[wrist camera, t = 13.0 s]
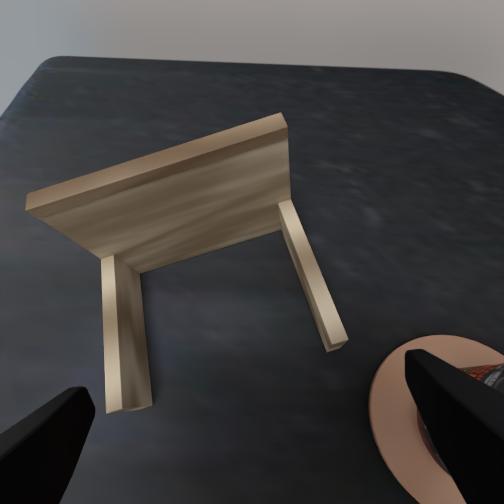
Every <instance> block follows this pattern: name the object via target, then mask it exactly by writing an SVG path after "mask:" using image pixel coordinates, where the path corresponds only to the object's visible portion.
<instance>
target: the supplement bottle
mask: <svg viewBox="0 0 504 504" xmlns="http://www.w3.org/2000/svg"><path fill="white" fill-rule="evenodd" d="M458 369H460V370H462V371H464V372H465V373H467V374H469V375H471V376H473V377H474V378H476V379H478V380H480V381H482V382H483V383H485V384H487V385H489V386H491V387H492V388H494V389H496V390H498V391H500V392H501V393H503V394H504V363H502V364H495V365H483V366H475V367H466V368H465V367H464V368H458ZM417 423H418V427H419V432H420V435H421V437H422V440H423V442H424V444H425V446H426V448H427V450H428V452H429V453H430V455H431V456H432V457H433V459H434V460H435V462H436V463H437V464H438V465H439V466H440V467H441V468H442V469H443V470H444V471H445V472H446V473H447V474H448V475H450V474H449V472H448V470H447V468H446V466H445V465H444V463H443V461H442V459H441V458H440V456H439V454H438V452H437V450H436V448H435V446H434V444H433V442H432V440H431V438H430V436H429V434H428V431H427V429H426V427H425V425H424V422H423V420H422V418H421V416H420V413H419V411H418V409H417ZM450 476H451V475H450Z"/></svg>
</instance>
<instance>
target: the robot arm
mask: <svg viewBox="0 0 504 504" xmlns="http://www.w3.org/2000/svg"><path fill="white" fill-rule="evenodd" d="M405 380H406V383H407V386H408V388H409V391H410V393H411V395H412V397H413V400H414V402H415V404H416V406H417V409H418V411H419V413H420V416H421V418H422V420H423V422H424V425H425V427H426V429H427V431H428V434H429V436H430V438H431V440H432V442H433V444H434V446H435V448H436V450H437V452H438V454H439V456H440V458H441V459H442V461H443V463H444V465H445V466H446V468H447V470H448V472H449V474H450V475H451V477H452V479H453V481H454V483H455V484H456V486H457V488H458V490H459V491H460V493H461V495H462V497H463V499H464V500H465V502H466V504H504V394H503V393H501V392H500V391H498V390H496V389H494V388H492V387H491V386H489V385H487V384H485V383H483V382H482V381H480V380H478V379H476V378H474V377H473V376H471V375H469V374H467V373H465V372H464V371H462V370H460V369H458V368H456V367H455V366H453V365H451V364H449V363H447V362H446V361H444V360H442V359H440V358H438V357H437V356H435V355H433V354H431V353H429V352H428V351H426V350H424V349H412V350H407V351H406V352H405ZM94 417H95V406H94V403H93V401H92V399H91V397H90V395H89V392H88V390H87V388H85V387H83V386H79V387H71V388H68V389H67V390H65V391H64V392H62V393H61V394H59V395H58V396H56V397H55V398H53V399H52V400H50V401H49V402H47V403H46V404H44V405H43V406H42V407H40V408H39V409H37V410H36V411H34V412H33V413H31V414H30V415H28V416H27V417H25V418H24V419H22V420H21V421H19V422H18V423H16V424H15V425H13V426H12V427H10V428H9V429H7V430H6V431H4V432H3V433H1V434H0V504H59V503H60V501H61V499H62V497H63V495H64V492H65V490H66V488H67V486H68V484H69V482H70V479H71V477H72V475H73V472H74V470H75V467H76V465H77V462H78V460H79V457H80V454H81V451H82V449H83V446H84V443H85V441H86V438H87V435H88V433H89V430H90V427H91V425H92V422H93V419H94Z"/></svg>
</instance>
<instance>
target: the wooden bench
mask: <svg viewBox="0 0 504 504" xmlns="http://www.w3.org/2000/svg"><path fill="white" fill-rule="evenodd" d="M25 211H27V212H28V213H30V214H31V215H33V216H34V217H36V218H40V219H41V220H43V221H44V222H46V223H47V224H49V225H50V226H52V227H53V228H55V229H56V230H58V231H59V232H61V233H62V234H64V235H65V236H67V237H68V238H70V239H72V240H73V241H75V242H76V243H78V244H79V245H81V246H82V247H84V248H85V249H87V250H88V251H90V252H91V253H93V254H94V255H96V256H97V257H99V258H100V259H101V270H102V300H103V331H104V361H105V391H106V414H107V413H115V412H123V411H131V410H139V409H143V408H146V407H149V406H153V404H152V394H151V384H150V374H149V363H148V353H147V343H146V333H145V323H144V313H143V303H142V292H141V282H140V274H141V273H144V272H147V271H150V270H154V269H157V268H160V267H163V266H166V265H169V264H173V263H176V262H179V261H182V260H185V259H189V258H192V257H195V256H198V255H201V254H205V253H208V252H211V251H214V250H217V249H221V248H224V247H227V246H230V245H233V244H236V243H240V242H243V241H246V240H249V239H252V238H256V237H259V236H262V235H265V234H268V233H272V232H275V231H278V230H281V231H282V233H283V236H284V239H285V241H286V244H287V247H288V249H289V252H290V255H291V258H292V260H293V263H294V266H295V268H296V271H297V274H298V276H299V279H300V282H301V285H302V287H303V290H304V293H305V295H306V298H307V301H308V303H309V306H310V309H311V311H312V314H313V317H314V320H315V322H316V325H317V328H318V330H319V333H320V336H321V338H322V341H323V344H324V347H325V349H326V352H329V351H333V350H336V349H339V348H341V347H342V346H343V345H344V344H345V343H346V342H347V341H348V337H347V335H346V332H345V330H344V327H343V325H342V322H341V320H340V318H339V315H338V313H337V310H336V308H335V305H334V303H333V301H332V298H331V296H330V293H329V291H328V288H327V286H326V284H325V281H324V279H323V276H322V274H321V271H320V269H319V267H318V264H317V262H316V259H315V257H314V254H313V252H312V250H311V247H310V245H309V242H308V240H307V237H306V235H305V233H304V230H303V228H302V225H301V223H300V220H299V218H298V216H297V213H296V211H295V208H294V206H293V203H292V201H291V194H290V174H289V154H288V127H287V124H286V122H285V120H284V118H283V116H282V114H281V113H278V114H275V115H272V116H268V117H265V118H262V119H259V120H256V121H253V122H250V123H247V124H243V125H240V126H237V127H234V128H231V129H228V130H225V131H222V132H219V133H215V134H212V135H209V136H206V137H203V138H200V139H197V140H194V141H190V142H187V143H184V144H181V145H178V146H175V147H172V148H169V149H166V150H162V151H159V152H156V153H153V154H150V155H147V156H144V157H141V158H137V159H134V160H131V161H128V162H125V163H122V164H119V165H116V166H112V167H109V168H106V169H103V170H100V171H97V172H94V173H91V174H88V175H84V176H81V177H78V178H75V179H72V180H69V181H66V182H63V183H59V184H56V185H53V186H50V187H47V188H44V189H41V190H38V191H35V192H31V193H28V194H27V200H26V209H25Z"/></svg>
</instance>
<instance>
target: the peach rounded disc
mask: <svg viewBox="0 0 504 504" xmlns="http://www.w3.org/2000/svg"><path fill="white" fill-rule="evenodd" d="M412 349H424V350H426V351H428V352H429V353H431V354H433V355H435V356H437V357H438V358H440V359H442V360H444V361H446V362H447V363H449V364H451V365H453V366H455V367H456V368H464V367H465V368H466V367H475V366H483V365H495V364H502V363H504V356H503V355H502V354H500V353H499V352H497V351H495V350H493V349H491V348H489V347H488V346H485V345H483V344H481V343H478V342H476V341H473V340H469V339H466V338H462V337H457V336H449V335H431V336H426V337H421V338H418V339H415V340H412V341H410V342H407V343H405V344H403V345H401V346H399V347H398V348H396V349H395V350H394V351H392V352H391V353H390V354H389V355H388V356H387V357H386V358H385V359H384V360H383V361H382V363H381V364H380V365H379V367H378V369H377V371H376V373H375V375H374V377H373V380H372V383H371V387H370V392H369V402H368V409H369V420H370V426H371V430H372V434H373V437H374V440H375V443H376V445H377V448H378V450H379V453H380V454H381V456H382V458H383V460H384V462H385V464H386V465H387V467H388V468H389V470H390V471H391V473H392V474H393V476H394V477H395V478H396V479H397V481H398V482H399V483H400V484H401V485H402V487H403V488H404V489H405V490H406V491H408V492H409V493H410V494H411V495H412V496H413V497H414V498H415V499H416V500H417V501H418V502H419V503H420V504H466V502H465V500H464V499H463V497H462V495H461V493H460V491H459V490H458V488H457V486H456V484H455V483H454V481H453V479H452V477H451V476H450V475H448V474H447V473H446V472H445V471H444V470H443V469H442V468H441V467H440V466H439V465H438V464H437V463H436V462H435V460H434V459H433V457H432V456H431V455H430V453H429V452H428V450H427V448H426V446H425V444H424V442H423V440H422V437H421V435H420V432H419V427H418V423H417V406H416V404H415V402H414V400H413V397H412V395H411V393H410V391H409V388H408V386H407V383H406V380H405V352H406V351H407V350H412Z"/></svg>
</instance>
